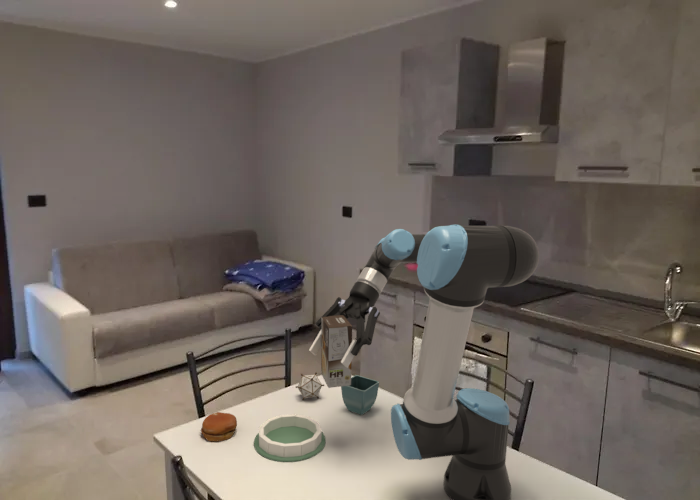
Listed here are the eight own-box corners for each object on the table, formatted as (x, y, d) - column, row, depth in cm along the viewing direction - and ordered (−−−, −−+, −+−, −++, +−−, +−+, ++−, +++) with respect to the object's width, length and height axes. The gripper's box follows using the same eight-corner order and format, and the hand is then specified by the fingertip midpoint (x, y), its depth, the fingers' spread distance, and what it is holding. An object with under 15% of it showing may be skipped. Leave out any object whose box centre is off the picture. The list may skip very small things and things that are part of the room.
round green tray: (339, 444, 133) (340, 432, 133) (279, 471, 121) (280, 457, 120) (298, 417, 147) (298, 406, 147) (240, 438, 135) (240, 426, 134)
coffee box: (352, 385, 128) (353, 325, 124) (327, 388, 126) (328, 327, 123) (342, 370, 136) (343, 314, 133) (320, 373, 134) (320, 316, 131)
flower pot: (339, 411, 152) (340, 383, 151) (355, 401, 160) (356, 374, 158) (363, 420, 147) (364, 391, 146) (378, 409, 155) (380, 381, 153)
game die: (313, 411, 160) (318, 395, 153) (289, 399, 161) (293, 383, 154) (324, 388, 166) (330, 373, 159) (301, 377, 167) (306, 361, 160)
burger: (216, 446, 131) (216, 429, 130) (194, 435, 136) (193, 418, 136) (244, 431, 139) (244, 415, 138) (222, 421, 144) (222, 406, 144)
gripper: (407, 304, 131) (369, 378, 123) (342, 287, 146) (304, 353, 137) (396, 288, 126) (355, 365, 118) (330, 273, 141) (289, 340, 132)
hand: (327, 358), depth 128 cm, fingers closed on coffee box, 10 cm apart
